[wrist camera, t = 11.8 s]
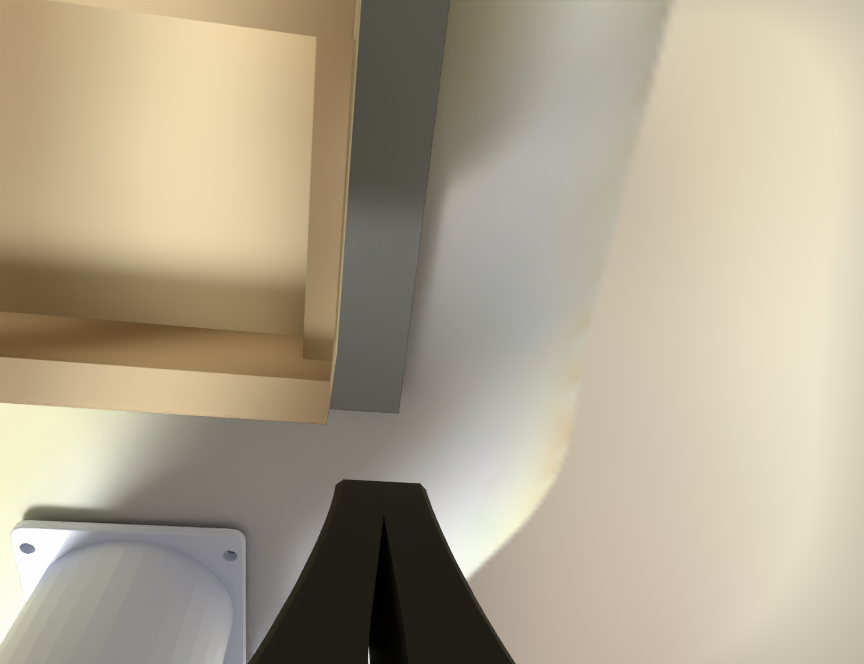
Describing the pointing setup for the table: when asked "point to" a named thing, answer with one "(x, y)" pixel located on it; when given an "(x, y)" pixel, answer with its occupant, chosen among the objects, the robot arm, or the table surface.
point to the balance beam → (174, 203)
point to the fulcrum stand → (386, 196)
